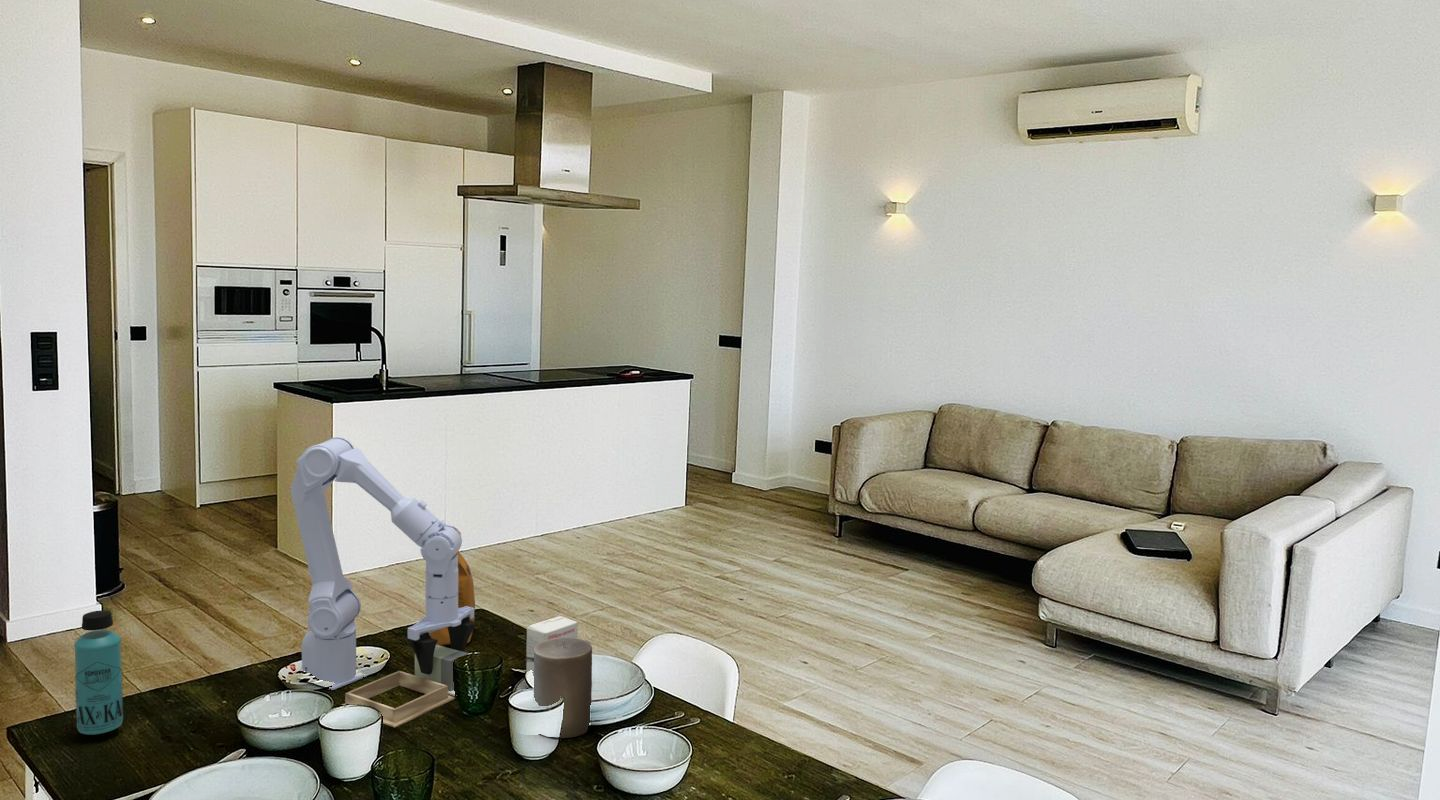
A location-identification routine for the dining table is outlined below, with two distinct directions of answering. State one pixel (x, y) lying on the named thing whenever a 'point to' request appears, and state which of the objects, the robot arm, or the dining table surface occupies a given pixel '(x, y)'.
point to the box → (441, 666)
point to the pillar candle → (565, 680)
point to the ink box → (548, 635)
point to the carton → (408, 711)
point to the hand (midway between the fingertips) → (441, 666)
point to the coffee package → (459, 598)
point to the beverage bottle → (98, 676)
